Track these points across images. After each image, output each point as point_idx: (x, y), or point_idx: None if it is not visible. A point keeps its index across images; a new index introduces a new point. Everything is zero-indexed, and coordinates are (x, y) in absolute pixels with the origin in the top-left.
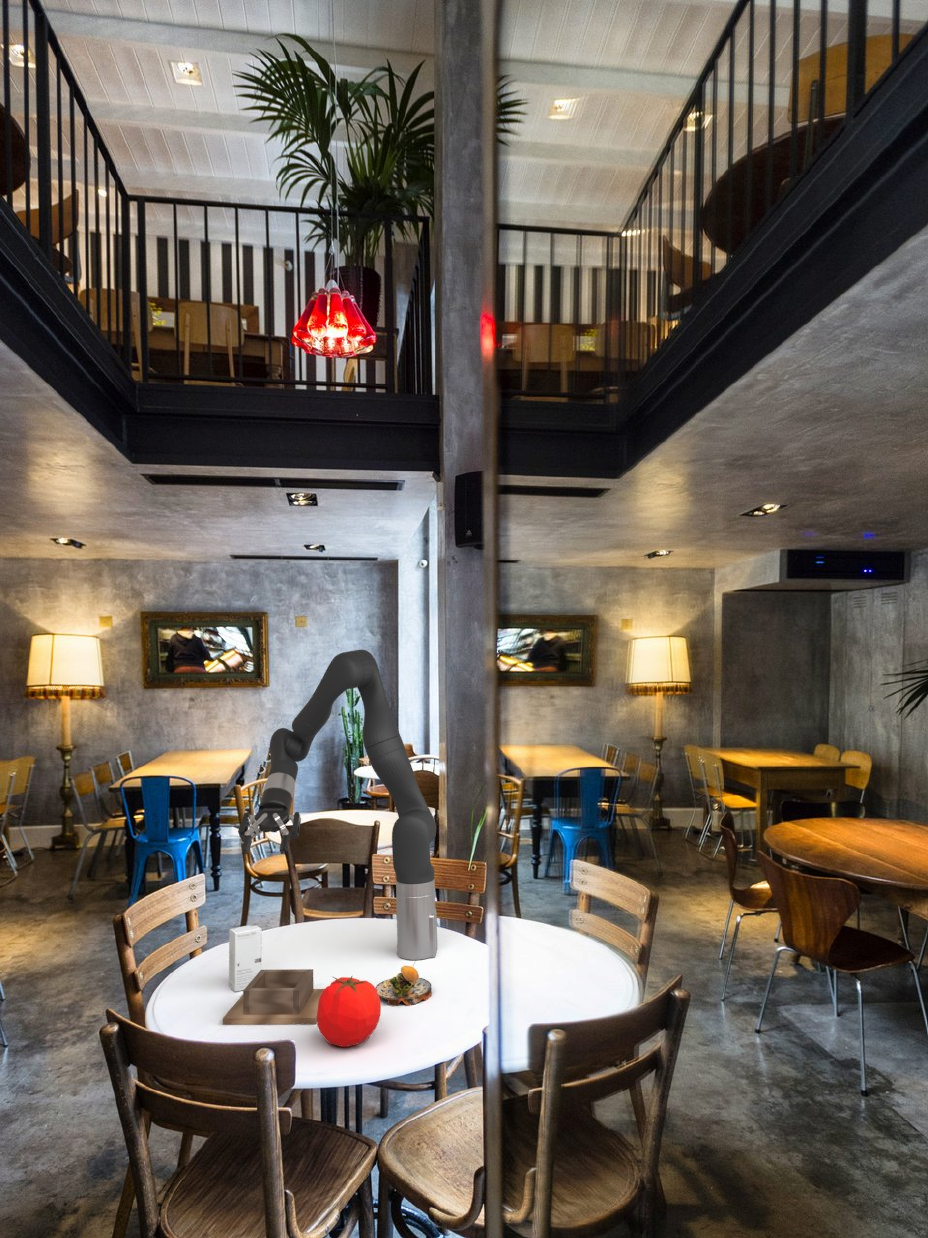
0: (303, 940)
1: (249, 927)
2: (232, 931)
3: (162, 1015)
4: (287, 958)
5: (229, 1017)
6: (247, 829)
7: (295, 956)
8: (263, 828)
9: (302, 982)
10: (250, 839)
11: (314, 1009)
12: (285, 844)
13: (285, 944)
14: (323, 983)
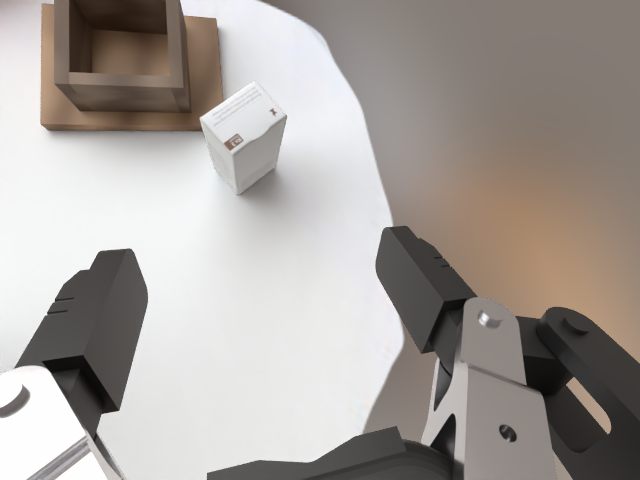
0: (220, 448)
1: (236, 121)
2: (270, 97)
3: (327, 65)
4: (216, 319)
5: (205, 19)
6: (573, 469)
7: (202, 334)
8: (379, 439)
9: (58, 15)
10: (428, 317)
11: (53, 34)
12: (68, 295)
13: (256, 410)
14: (84, 186)
